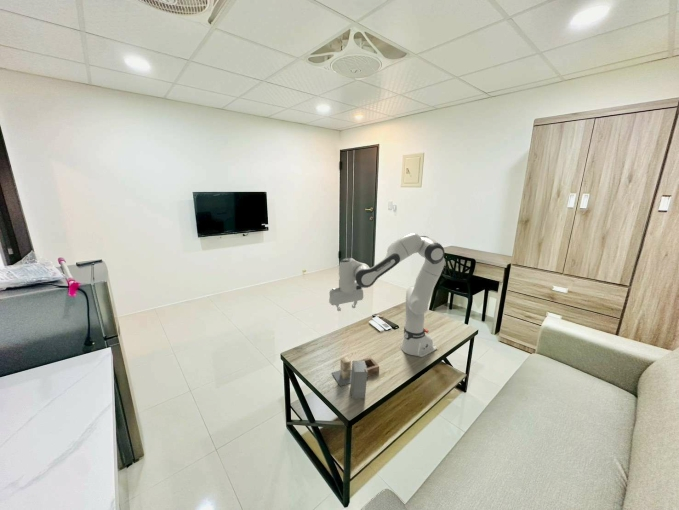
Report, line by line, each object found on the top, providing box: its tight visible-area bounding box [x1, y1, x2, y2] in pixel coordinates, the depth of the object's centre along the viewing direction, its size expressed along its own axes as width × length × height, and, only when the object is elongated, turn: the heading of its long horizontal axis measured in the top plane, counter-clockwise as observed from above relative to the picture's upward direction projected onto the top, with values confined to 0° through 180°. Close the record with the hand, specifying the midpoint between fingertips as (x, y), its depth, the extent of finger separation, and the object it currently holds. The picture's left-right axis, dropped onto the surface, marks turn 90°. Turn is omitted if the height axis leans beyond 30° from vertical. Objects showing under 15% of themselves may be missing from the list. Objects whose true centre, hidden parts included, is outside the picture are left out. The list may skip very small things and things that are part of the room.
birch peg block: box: [339, 356, 352, 379], centre depth 144 cm, size 4×4×10 cm
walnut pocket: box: [358, 356, 380, 377], centre depth 150 cm, size 9×9×4 cm
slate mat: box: [331, 369, 352, 387], centre depth 145 cm, size 11×11×1 cm
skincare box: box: [350, 360, 368, 400], centre depth 132 cm, size 8×7×16 cm
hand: (346, 309), depth 155 cm, fingers open, 8 cm apart
